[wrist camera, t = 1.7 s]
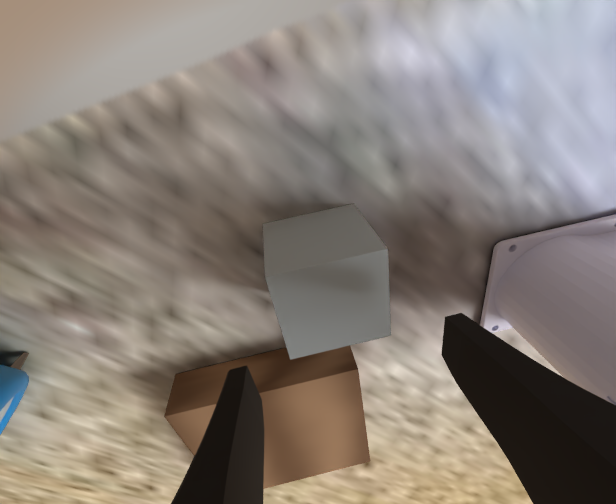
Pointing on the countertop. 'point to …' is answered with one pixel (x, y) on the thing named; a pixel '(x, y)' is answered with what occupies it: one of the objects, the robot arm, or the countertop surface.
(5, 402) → the alarm clock
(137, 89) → the countertop surface
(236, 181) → the countertop surface
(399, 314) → the countertop surface
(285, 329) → the slate cube
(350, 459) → the walnut base
